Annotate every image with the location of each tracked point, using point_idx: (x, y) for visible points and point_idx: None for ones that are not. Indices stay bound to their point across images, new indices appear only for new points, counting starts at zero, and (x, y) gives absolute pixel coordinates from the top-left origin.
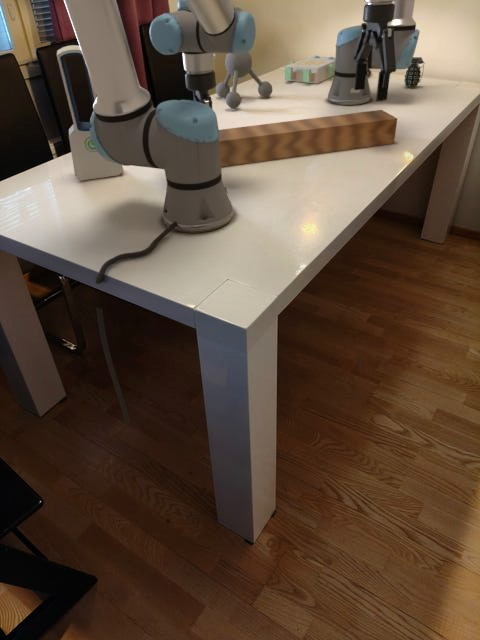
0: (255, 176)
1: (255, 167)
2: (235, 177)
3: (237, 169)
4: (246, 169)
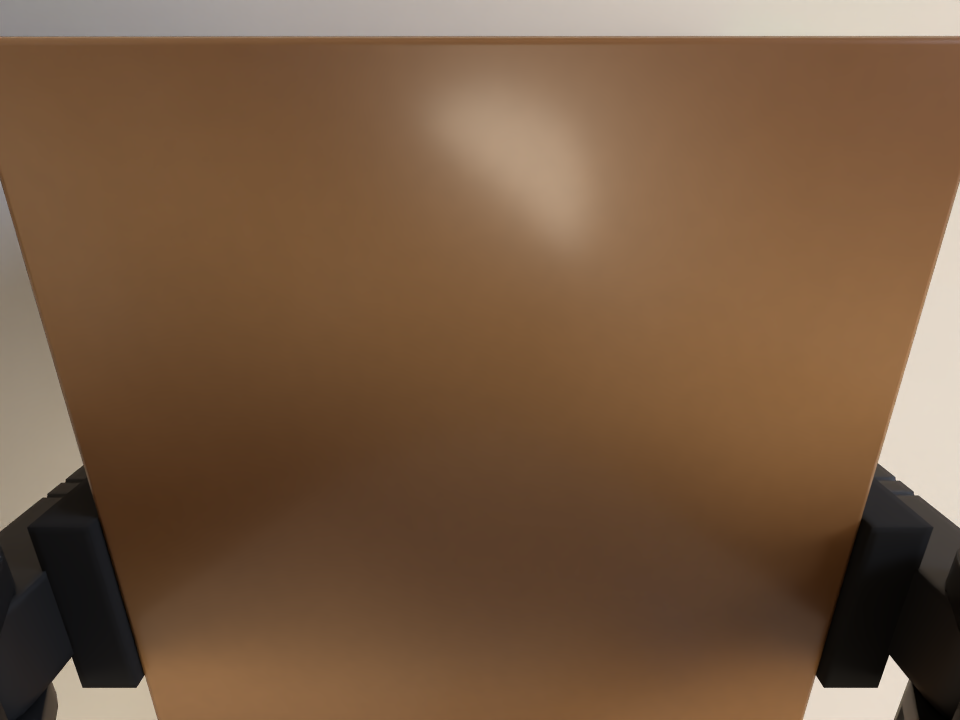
0: None
1: None
2: None
3: None
4: None
